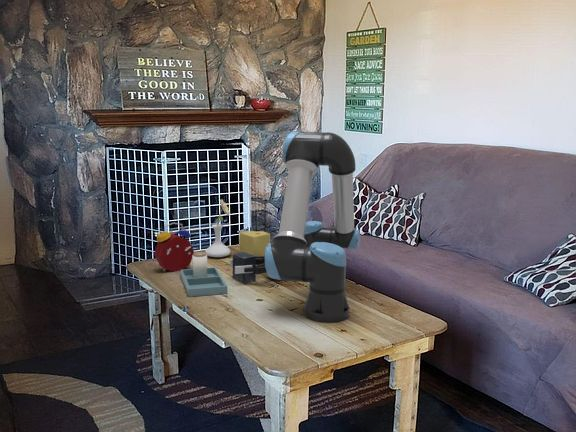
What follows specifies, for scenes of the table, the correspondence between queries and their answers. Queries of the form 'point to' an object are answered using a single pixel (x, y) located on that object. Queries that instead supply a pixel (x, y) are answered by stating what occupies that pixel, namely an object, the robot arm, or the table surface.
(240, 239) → the yellow block
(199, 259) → the jar
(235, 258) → the box
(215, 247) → the flower in vase
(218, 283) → the tray
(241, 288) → the table surface
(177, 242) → the alarm clock
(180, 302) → the table surface
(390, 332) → the table surface
